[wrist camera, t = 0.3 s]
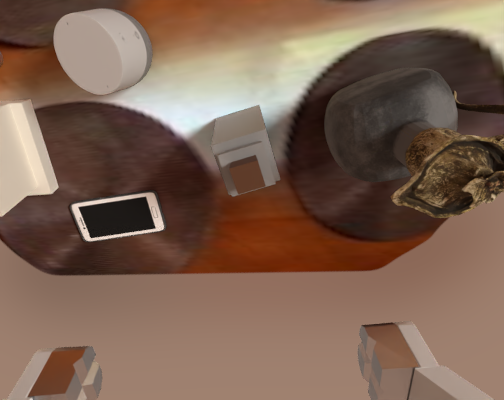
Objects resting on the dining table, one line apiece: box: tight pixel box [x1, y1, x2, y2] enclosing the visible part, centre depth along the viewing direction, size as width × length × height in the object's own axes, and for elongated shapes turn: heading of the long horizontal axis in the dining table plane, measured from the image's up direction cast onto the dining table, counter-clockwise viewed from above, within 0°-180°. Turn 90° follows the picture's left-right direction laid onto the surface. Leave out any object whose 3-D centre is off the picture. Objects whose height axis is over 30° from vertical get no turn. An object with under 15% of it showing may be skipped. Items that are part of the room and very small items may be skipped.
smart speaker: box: [54, 9, 152, 95], centre depth 44 cm, size 10×9×14 cm
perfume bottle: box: [211, 105, 280, 197], centre depth 48 cm, size 7×7×18 cm
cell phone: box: [70, 190, 166, 242], centre depth 62 cm, size 8×15×1 cm, turn 98°
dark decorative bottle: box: [324, 68, 504, 218], centre depth 42 cm, size 11×19×30 cm, turn 110°
